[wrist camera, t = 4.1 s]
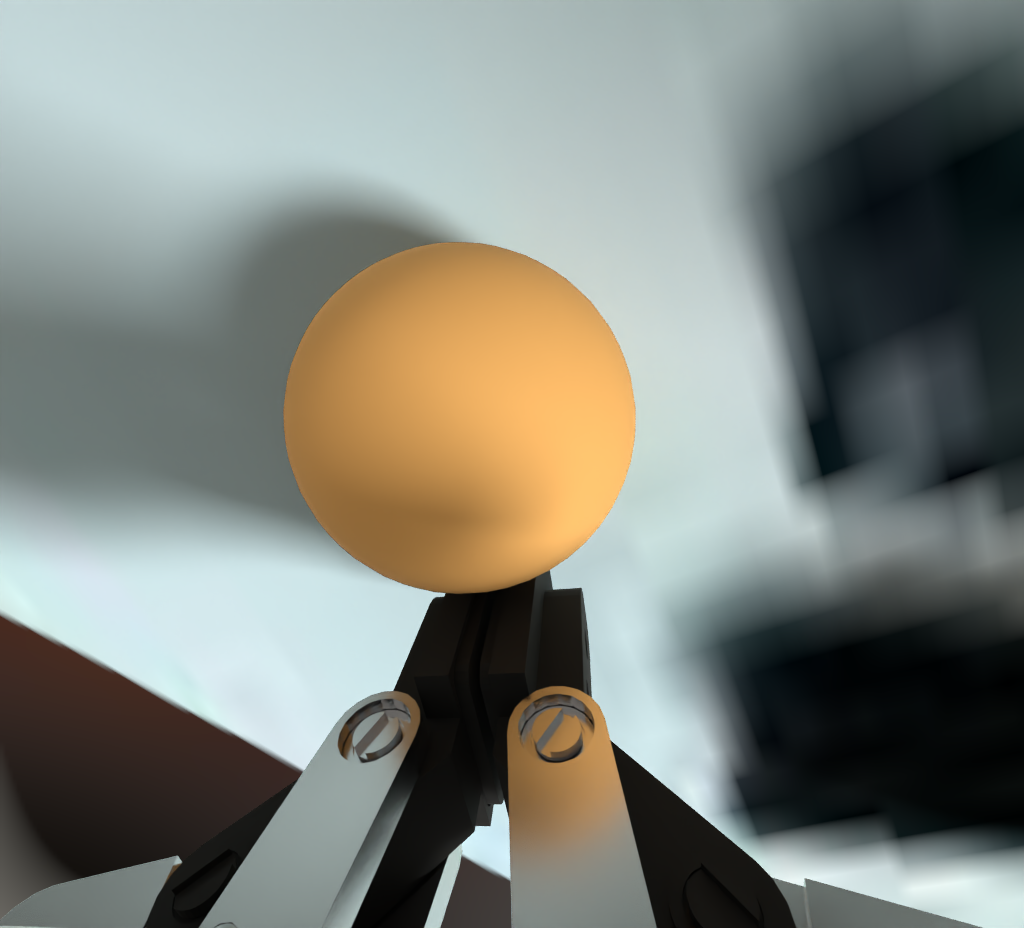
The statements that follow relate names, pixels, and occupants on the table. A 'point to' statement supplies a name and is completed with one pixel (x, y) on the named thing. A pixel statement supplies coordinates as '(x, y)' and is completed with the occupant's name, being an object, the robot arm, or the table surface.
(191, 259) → the table surface
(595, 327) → the ball
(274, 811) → the robot arm
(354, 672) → the table surface
